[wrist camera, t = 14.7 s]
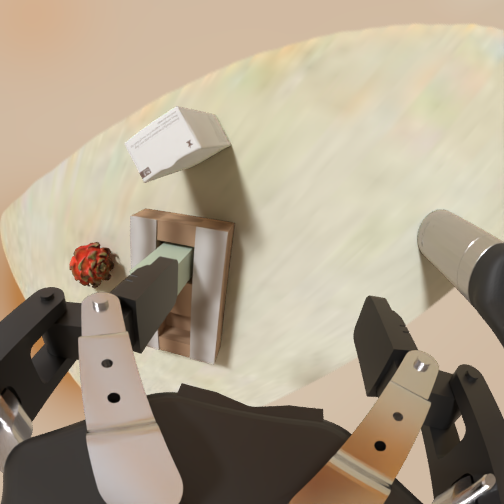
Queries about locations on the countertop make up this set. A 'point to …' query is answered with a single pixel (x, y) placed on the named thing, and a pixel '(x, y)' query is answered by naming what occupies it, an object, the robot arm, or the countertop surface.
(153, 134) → the skincare box
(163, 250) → the square peg
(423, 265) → the countertop surface
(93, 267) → the dragon fruit
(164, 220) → the block
